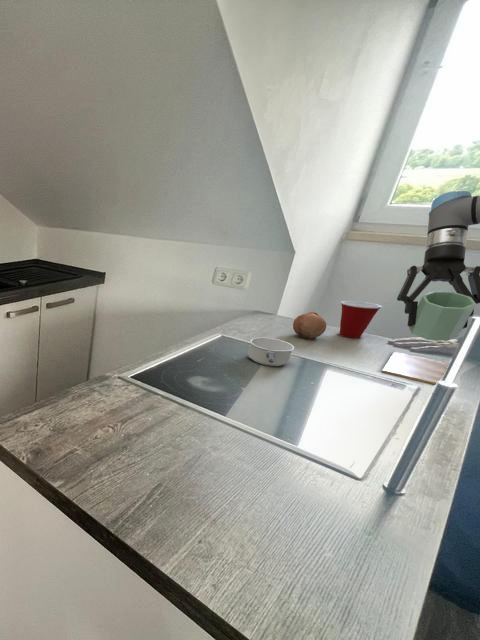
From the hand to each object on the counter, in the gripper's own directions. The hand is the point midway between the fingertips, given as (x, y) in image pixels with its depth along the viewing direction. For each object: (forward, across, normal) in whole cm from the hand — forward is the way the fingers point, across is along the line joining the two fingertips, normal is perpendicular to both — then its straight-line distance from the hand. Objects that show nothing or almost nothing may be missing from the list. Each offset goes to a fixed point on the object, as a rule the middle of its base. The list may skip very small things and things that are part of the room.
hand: (436, 326), depth 107 cm
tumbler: (+1, 0, -5) cm, 5 cm away
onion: (+1, -25, +22) cm, 34 cm away
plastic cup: (-2, -11, +30) cm, 32 cm away
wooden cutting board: (+11, 0, +8) cm, 14 cm away
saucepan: (+17, -38, -7) cm, 42 cm away
